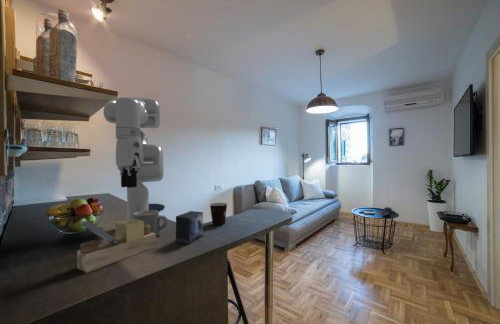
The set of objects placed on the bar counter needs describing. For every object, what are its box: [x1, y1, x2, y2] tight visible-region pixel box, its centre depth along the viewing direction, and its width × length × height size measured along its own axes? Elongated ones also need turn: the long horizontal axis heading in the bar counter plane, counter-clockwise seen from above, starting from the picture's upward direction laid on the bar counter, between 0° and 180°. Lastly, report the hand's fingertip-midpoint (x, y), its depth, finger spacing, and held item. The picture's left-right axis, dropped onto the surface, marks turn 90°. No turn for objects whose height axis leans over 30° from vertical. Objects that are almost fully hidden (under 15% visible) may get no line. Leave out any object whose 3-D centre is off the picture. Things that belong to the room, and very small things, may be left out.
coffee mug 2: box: [209, 202, 228, 226], centre depth 108 cm, size 12×9×10 cm
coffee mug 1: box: [133, 209, 169, 237], centre depth 93 cm, size 13×10×10 cm
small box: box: [175, 210, 204, 245], centre depth 87 cm, size 11×6×10 cm, turn 161°
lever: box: [81, 220, 119, 244], centre depth 67 cm, size 5×1×11 cm
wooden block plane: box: [76, 225, 157, 274], centre depth 72 cm, size 6×22×8 cm, turn 148°
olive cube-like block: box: [114, 218, 144, 243], centre depth 74 cm, size 7×6×6 cm
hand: (129, 186), depth 75 cm, fingers open, 2 cm apart
